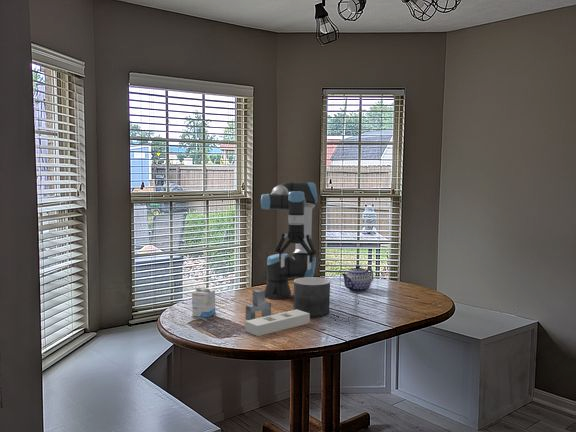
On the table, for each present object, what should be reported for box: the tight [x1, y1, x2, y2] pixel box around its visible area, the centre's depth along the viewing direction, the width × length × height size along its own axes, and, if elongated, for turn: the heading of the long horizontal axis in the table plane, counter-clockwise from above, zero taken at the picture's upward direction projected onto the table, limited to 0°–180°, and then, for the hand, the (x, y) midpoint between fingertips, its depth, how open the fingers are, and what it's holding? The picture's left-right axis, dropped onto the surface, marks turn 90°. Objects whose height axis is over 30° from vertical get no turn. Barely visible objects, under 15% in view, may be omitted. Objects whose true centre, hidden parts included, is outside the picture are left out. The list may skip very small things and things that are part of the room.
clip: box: [245, 288, 272, 321], centre depth 247 cm, size 12×4×13 cm, turn 131°
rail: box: [244, 309, 311, 337], centre depth 233 cm, size 30×9×4 cm, turn 131°
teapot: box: [341, 264, 374, 293], centre depth 304 cm, size 25×15×15 cm, turn 125°
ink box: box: [191, 287, 216, 318], centre depth 251 cm, size 9×8×13 cm
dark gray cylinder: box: [293, 276, 331, 318], centre depth 257 cm, size 18×18×16 cm
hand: (295, 268), depth 250 cm, fingers open, 13 cm apart
